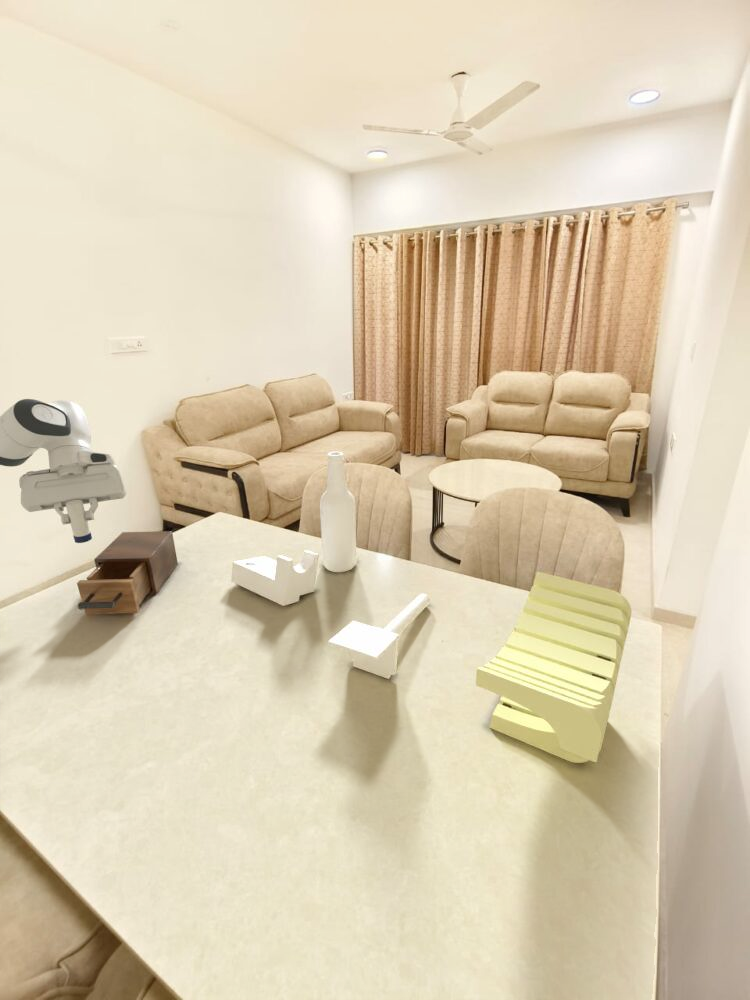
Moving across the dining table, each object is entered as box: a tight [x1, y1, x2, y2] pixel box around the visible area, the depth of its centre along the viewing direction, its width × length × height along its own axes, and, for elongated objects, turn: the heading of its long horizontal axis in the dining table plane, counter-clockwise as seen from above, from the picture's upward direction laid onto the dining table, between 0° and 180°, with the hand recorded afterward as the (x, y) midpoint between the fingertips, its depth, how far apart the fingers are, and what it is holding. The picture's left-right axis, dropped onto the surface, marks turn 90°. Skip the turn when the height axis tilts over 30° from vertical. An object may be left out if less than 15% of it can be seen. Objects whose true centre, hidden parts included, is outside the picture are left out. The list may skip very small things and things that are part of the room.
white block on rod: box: [327, 593, 431, 680], centre depth 98 cm, size 9×9×32 cm
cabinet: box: [93, 530, 179, 595], centre depth 123 cm, size 15×13×10 cm
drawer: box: [76, 561, 152, 615], centre depth 112 cm, size 18×11×8 cm, turn 1°
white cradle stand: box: [230, 549, 320, 607], centre depth 119 cm, size 18×10×10 cm, turn 53°
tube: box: [65, 500, 93, 544], centre depth 110 cm, size 3×3×9 cm
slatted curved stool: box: [475, 571, 632, 764], centre depth 78 cm, size 30×16×18 cm, turn 148°
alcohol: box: [319, 451, 358, 573], centre depth 124 cm, size 9×9×30 cm
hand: (78, 521), depth 109 cm, fingers closed on tube, 3 cm apart
